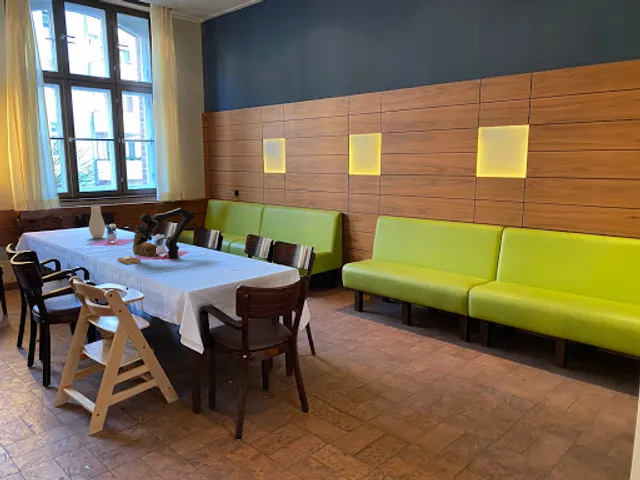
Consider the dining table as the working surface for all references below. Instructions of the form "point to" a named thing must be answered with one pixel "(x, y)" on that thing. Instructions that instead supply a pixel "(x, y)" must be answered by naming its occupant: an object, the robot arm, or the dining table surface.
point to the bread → (147, 249)
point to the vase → (96, 223)
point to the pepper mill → (136, 247)
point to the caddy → (128, 260)
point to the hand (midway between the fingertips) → (135, 244)
